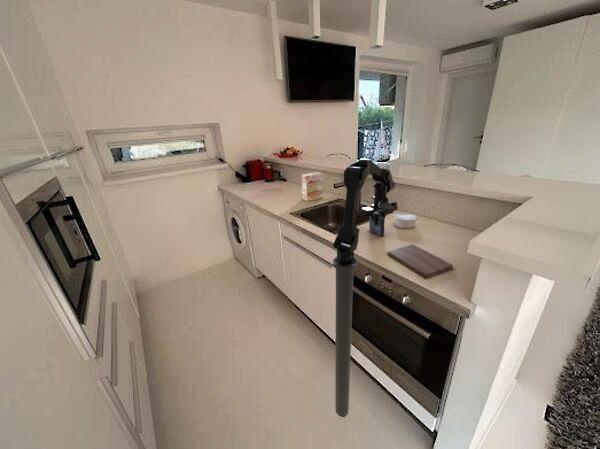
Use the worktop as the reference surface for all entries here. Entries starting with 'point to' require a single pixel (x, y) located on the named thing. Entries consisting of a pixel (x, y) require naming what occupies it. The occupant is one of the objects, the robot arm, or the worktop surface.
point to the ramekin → (405, 220)
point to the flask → (379, 228)
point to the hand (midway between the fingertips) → (378, 225)
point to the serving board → (420, 260)
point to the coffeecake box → (312, 186)
